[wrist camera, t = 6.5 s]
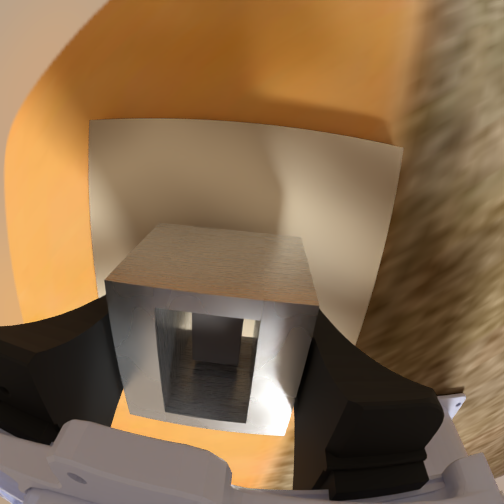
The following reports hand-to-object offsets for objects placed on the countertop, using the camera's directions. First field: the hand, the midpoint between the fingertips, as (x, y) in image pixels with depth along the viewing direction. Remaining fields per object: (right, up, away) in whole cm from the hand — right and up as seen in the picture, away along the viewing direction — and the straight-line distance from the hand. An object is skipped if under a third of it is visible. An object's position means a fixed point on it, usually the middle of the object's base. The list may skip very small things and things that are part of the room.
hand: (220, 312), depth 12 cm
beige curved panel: (0, +2, +4) cm, 4 cm away
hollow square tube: (0, +1, +1) cm, 1 cm away
